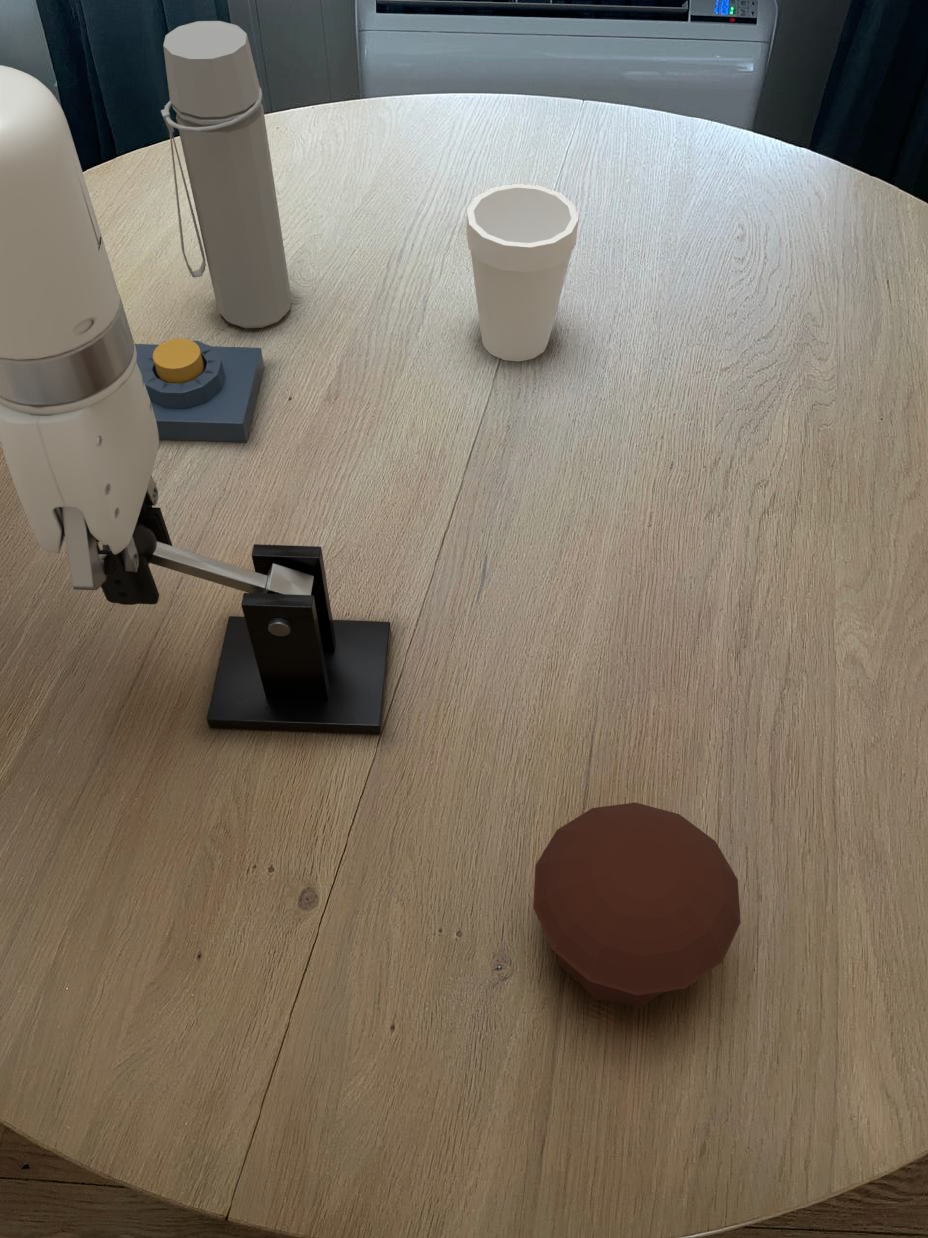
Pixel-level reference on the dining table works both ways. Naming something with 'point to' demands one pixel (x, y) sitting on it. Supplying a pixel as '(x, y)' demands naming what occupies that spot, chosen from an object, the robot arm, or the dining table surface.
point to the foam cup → (519, 265)
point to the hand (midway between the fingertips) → (140, 573)
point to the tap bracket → (299, 659)
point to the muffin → (635, 902)
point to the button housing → (206, 394)
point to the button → (178, 361)
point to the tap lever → (219, 567)
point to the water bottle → (227, 170)
